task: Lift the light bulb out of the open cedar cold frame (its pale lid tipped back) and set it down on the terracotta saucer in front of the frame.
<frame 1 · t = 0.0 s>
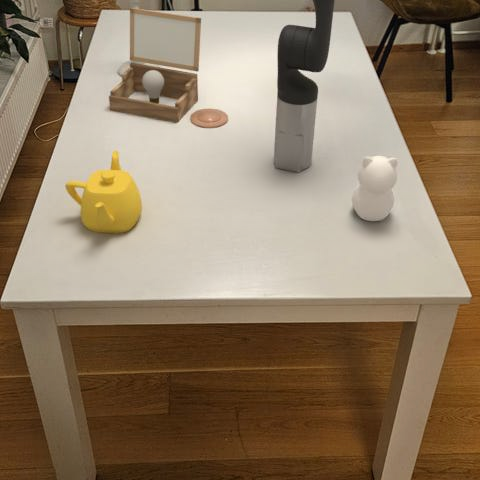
lid: (164, 39, 191), point 16 cm above the table, hinge at 100.0°
light bulb: (154, 105, 194), resting in cold frame
saucer: (209, 119, 188), on the table
white plate: (139, 71, 212), on the table
cold frame: (154, 105, 194), on the table
teapot: (106, 217, 152), on the table
cat figurine: (370, 211, 155), on the table
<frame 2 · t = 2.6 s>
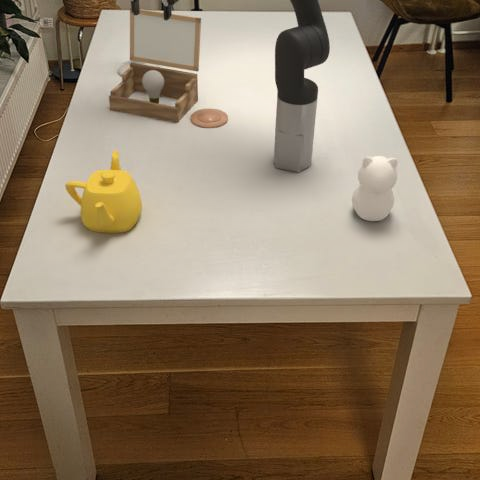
hand: (151, 17, 180), 24 cm above the table, fingers open, 8 cm apart
nothing on the table moved.
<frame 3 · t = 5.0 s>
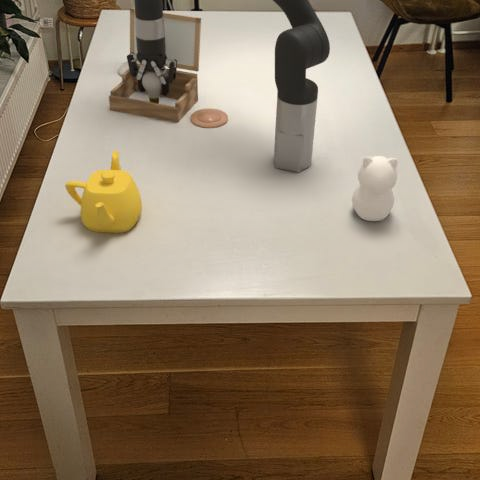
hand: (153, 93, 192), 4 cm above the table, fingers closed on light bulb, 6 cm apart
light bulb: (154, 105, 194), resting in cold frame, touching gripper
everything else where it was.
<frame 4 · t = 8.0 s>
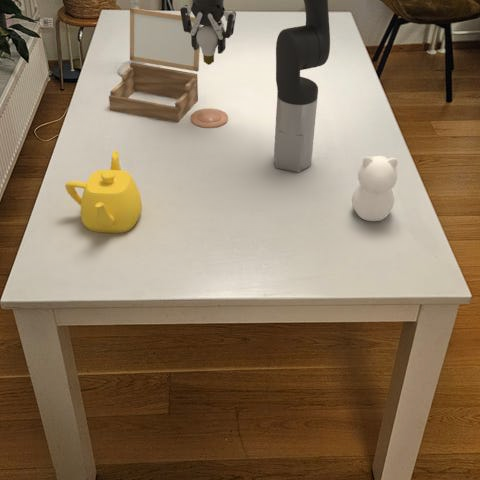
hand: (208, 50, 176), 19 cm above the table, fingers closed on light bulb, 6 cm apart
light bulb: (208, 64, 179), point 15 cm above the table, touching gripper
everything else where it was.
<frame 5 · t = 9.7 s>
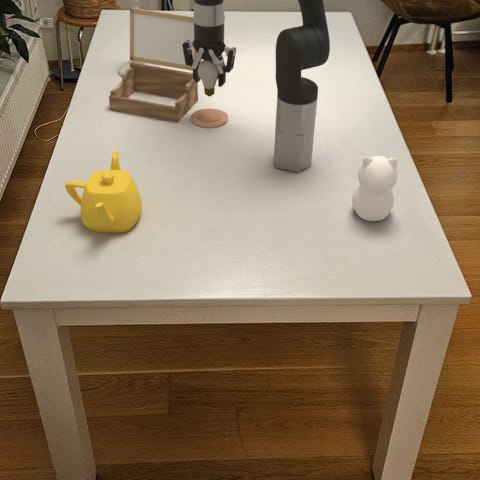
hand: (209, 83, 182), 10 cm above the table, fingers closed on light bulb, 6 cm apart
light bulb: (209, 96, 184), point 6 cm above the table, touching gripper
everything else where it was.
when the fingers open (6 cm above the table, at t = 11.2 s): light bulb drops 1 cm, resting on saucer.
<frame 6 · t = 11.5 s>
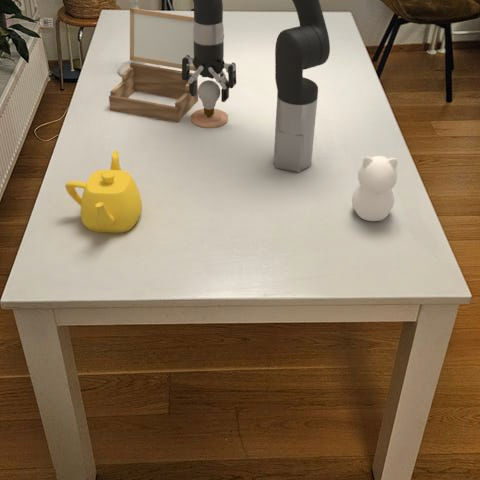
hand: (209, 98, 184), 6 cm above the table, fingers open, 8 cm apart
light bulb: (209, 116, 188), point 1 cm above the table, touching saucer
everything else where it was.
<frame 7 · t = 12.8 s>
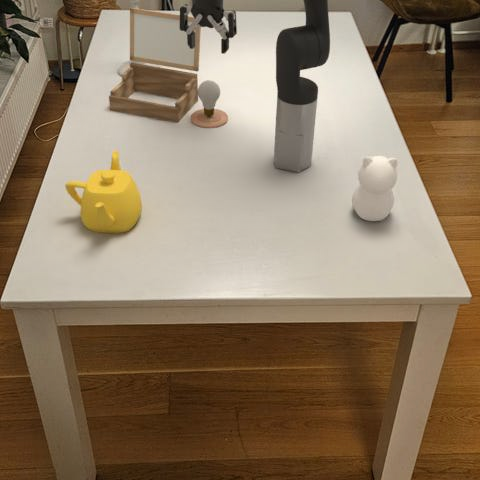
hand: (208, 50, 176), 19 cm above the table, fingers open, 8 cm apart
nothing on the table moved.
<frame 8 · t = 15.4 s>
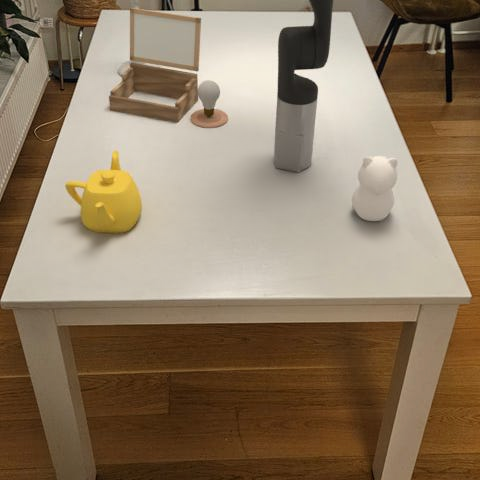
nothing on the table moved.
at the end: light bulb 0.1 cm from the saucer (horizontally); light bulb touching saucer; the gripper is holding nothing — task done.
